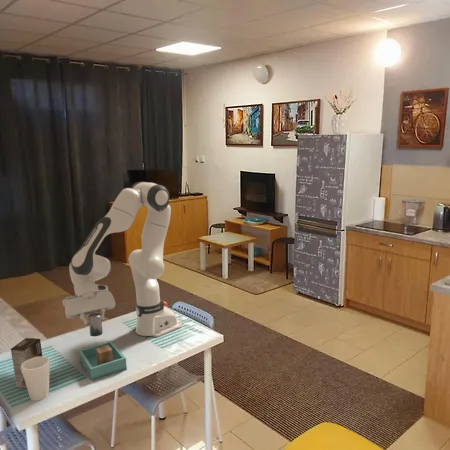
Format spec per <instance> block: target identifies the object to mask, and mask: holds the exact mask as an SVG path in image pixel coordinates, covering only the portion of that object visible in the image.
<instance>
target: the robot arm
mask: <svg viewBox="0 0 450 450" xmlns="http://www.w3.org/2000/svg"><path fill="white" fill-rule="evenodd" d="M142 207H146V209H147V215H146V217H145V220H144V225H143V227H142V232H141V235H140V239H141V249H139V248H138V249H135V250H132V251H131V253H130V254H129V256H128V264H129V266H130V270H131V274H132V278H133V283H134V287H135V294H136V295H135V297H136V302H135V311H136V317H137V318H136V327H135V333H136V334H137V335H140V336H142V337H143V336H144V337H157V338H158V337H161V336H163V335H165V334H168V333H171V332H173V331H175V330H179V329H180V328H182V326H183V325H182V321H181V320H180V319H178V318H177V316H176V314H175V312H174V311H172V310H171V309H170V308H168V303H167V302H166V301H164V300H162V299H161V297H160V295H161V294H160V293H161V292H160V286H159V285H160V284H159V283H158V280H157V279H158V278H160V277H161V276H162V275H163V274H164V272H165V263H164V246H165V240H166V237H167V234H168V233H167V232H168V229H169V225H170V222H171V221H170V220H171V213H172V209H171V208H172V207H171V205H170V192H169V190H168V189H167V188H166V187H165V186H164V185H161V184H157V183H155V182H146V181H138V182H135V183H134V184H132V186H131V187H126V188H123V189H122V190H121V191H120V192H119V194H118V195H117V197H115V200H114V201H113V203H112V205H111V208H110V210H109V211H108V212H107V213H106V215H105V216H103V217H101V218H100V219H99V220H98V221H97V222H96V223H95V225H94V227H92V230H90V233H89V235H88V236H87V237H86V238H85V241H84V242H83V243H82V245H81V246H80V248H79V249H78V250H77V251H76V252H75V253H74V254H73V256H72V258H71V260H70V263H69V268H68V269H69V270H68V271H69V276H70V280H71V282H72V284H73V290H74V294H75V295H71V296H66V297H65V298H64V299H62V300H61V301H62V302H61V303H62V307H64V310H65V312H64V313H65V316H66V317H65V318H67V319H68V320H72V319H75V318H79V319H80V320H81V321H82V322H84V325H85V326H88V325H89V318H86V317H85V316H89V315H90V314H93V313H100V314H101V319H102V322H104V321H105V312H106V311H109V310H113V309H115V307H116V300H115V297H114V295H113V294H112V292H111V291H110V290H109V287H108V285H106V284H105V285H104V284H97V283H96V282H98V281H100V280H102V279H104V278H106V277H108V275H109V274H110V273H111V269H112V264H111V261H110V259H109V258H107V257H104V256H102V255H99V254H96V251H97V250H98V249H99V247H100V246H101V244H102V242H103V241H104V239H105V237H107V236H108V235H110V234H113V233H122V232H125V231H127V230H129V228H131V226H132V224H133V223H134V221H135V218H136V217H137V214H138V212H139V210H140V208H142Z"/></svg>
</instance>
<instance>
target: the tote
mask: <svg viewBox="0 0 450 450" xmlns="http://www.w3.org/2000/svg"><path fill="white" fill-rule="evenodd" d="M106 345H109V347H110V348H111V349H112V353H113V361H111V362H108V363H104V364H101V365H97V355H96V348H99V347H103V346H106ZM77 352H78V360H79V363H80V364H81V367H82V368H83V370H84V371H85V372H86V374H87V375H88V377H89V379H90V380H91V381H96V380H100V379H102V378H106V377H108V376H112V375H114V374H117V373H120V372H124V371H127V369H128V367H127V358H126V357H125V355H124V354H123V353H122V352H121V351H120V350H119V348H117V346H116V345H115V344H114V343H113V341H111V340H110V341H107V342H103V343H101V344H97V345H93V346H90V347H85V348H83V349H82V348H81V349H79V350H78V351H77Z"/></svg>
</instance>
